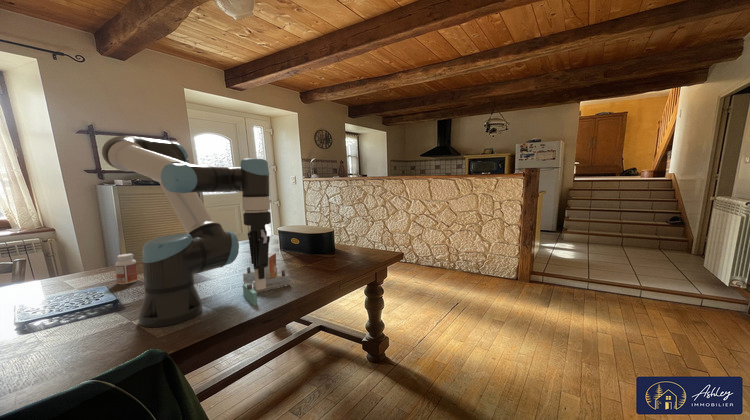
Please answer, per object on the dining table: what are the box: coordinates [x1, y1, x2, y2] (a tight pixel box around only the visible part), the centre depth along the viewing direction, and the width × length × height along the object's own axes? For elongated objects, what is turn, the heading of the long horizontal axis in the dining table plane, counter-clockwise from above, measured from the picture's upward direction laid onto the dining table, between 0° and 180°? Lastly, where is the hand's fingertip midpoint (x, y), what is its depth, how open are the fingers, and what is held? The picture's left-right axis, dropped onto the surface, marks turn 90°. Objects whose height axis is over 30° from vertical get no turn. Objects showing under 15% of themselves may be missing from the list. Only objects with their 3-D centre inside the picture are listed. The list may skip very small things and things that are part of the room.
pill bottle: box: [115, 253, 138, 286], centre depth 111 cm, size 6×6×11 cm
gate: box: [242, 283, 258, 306], centre depth 94 cm, size 2×11×5 cm, turn 40°
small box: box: [265, 252, 278, 278], centre depth 109 cm, size 8×6×10 cm
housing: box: [242, 266, 291, 294], centre depth 109 cm, size 13×15×6 cm
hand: (260, 288), depth 85 cm, fingers closed
